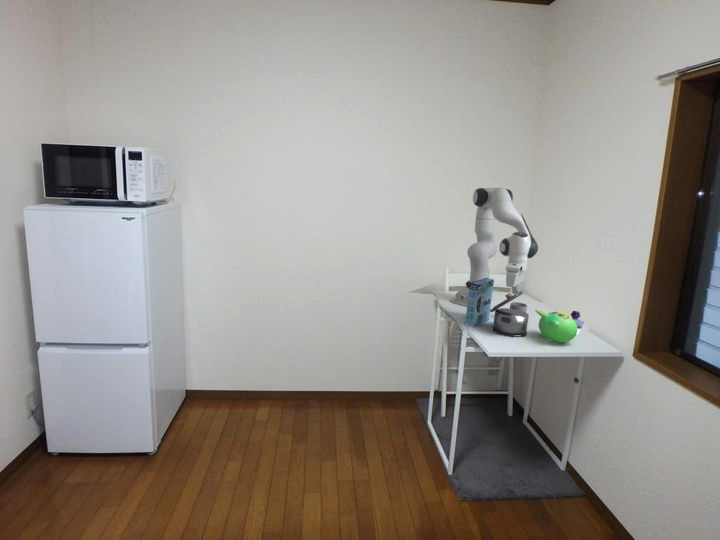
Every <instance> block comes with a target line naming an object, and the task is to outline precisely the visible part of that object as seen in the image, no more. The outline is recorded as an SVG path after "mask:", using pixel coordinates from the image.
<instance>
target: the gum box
mask: <svg viewBox="0 0 720 540" xmlns="http://www.w3.org/2000/svg"><path fill="white" fill-rule="evenodd" d="M494 283H495V279H494V278H490V277H489V278H484V279H481V280H478V281H475V282H471V283H470V287H469V295H468V303H467V307H466V312H465V319H464V320H465V323H464V325H465V324H467V325H470V326H474V327H476V326H478V325H481V324H482V322H483V323H484V322H487V321H488V320H490V315H491V312H490V310H491V307H492V306H491V305H492V300H493V299H492V298H493V292H494V291H493V290H494ZM467 325H466V326H467ZM470 326H469V327H470Z"/></svg>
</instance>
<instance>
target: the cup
mask: <svg viewBox="0 0 720 540" xmlns="http://www.w3.org/2000/svg"><path fill="white" fill-rule="evenodd" d="M527 308H528V305H527V303H523V302H513V301H512V302H510V306H509V309H516V310H520V311H523V312H526V313H527Z"/></svg>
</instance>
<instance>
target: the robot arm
mask: <svg viewBox="0 0 720 540" xmlns="http://www.w3.org/2000/svg"><path fill="white" fill-rule="evenodd" d="M513 196H514V194H513V192H512V190H511V189H508V188H504V187H486V188H485V187H484V188H483V187H480V188H479V187H478V188H476V189H475V190H474V192H473V194H472V202H473V204H474V206H476V207H477V208H476V214H475V223H474V233H475V235H476V242H474V243H473V244H471V245H470V246H469V247H468V248H467V253H466V254H467V256H468V258H469V263H470V274H469V280H467V281H466V283H465V287H463V288H461V289H460V290H457V292H456V293H455V295H454V297H453V298H452V299H450V303H452V304H456V305H459V306H463V307H466V308H467V303H468V295H469V287H470V283H471V282H475V281H478V280H481V279H484V278H490V269H489V263H488V262H489V261H488V260H489V259H492V258H493V257H494V256H495V255H496V254H497V252H498V248H497V245H496V241H495V240H496V239H495V226H496V225H495V224H496V221H498V222H500V223H502V224H506V225H509V226H511V227H513V228H515V229H516V230H517V232H515V231H514V232H513V233H512V234H511V235H510V236H509V237H505V238H503V239H501V241H500V243H499V253H500V254H501V255H502V256H503V257H508V261H507V265H506V266H505V271H506V273H505V275H506V277H505V285H506V287H508V288H511V294H513V295H515V294H516V293H518V292H519V287H520V284H523V283H525V279H526V271H527V270H528V261H529V259H532V258H533V257H534V256H535V255H537V253H538V251H539V245H538V242H537V241H536V239H535V238H534V237H533V235H532V232H531V230H530V228H529V225H528V224H527V222H526V219H525V218H524V216H523V214H521V212H519V211H518V210H517V209H516V208H515V206H514V204H513V200H514V197H513Z"/></svg>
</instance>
